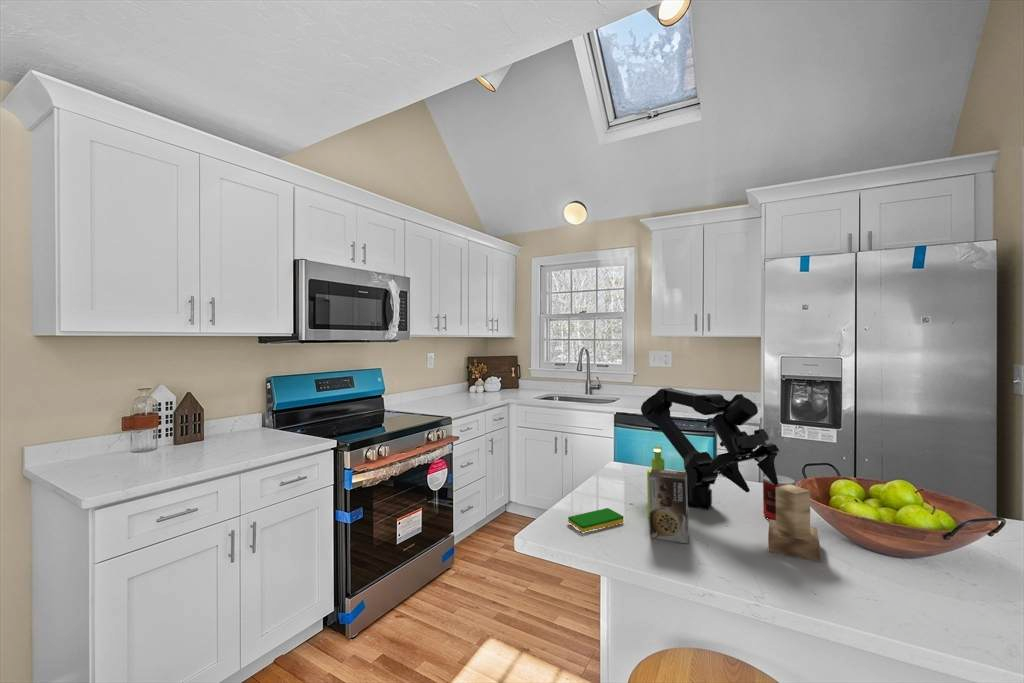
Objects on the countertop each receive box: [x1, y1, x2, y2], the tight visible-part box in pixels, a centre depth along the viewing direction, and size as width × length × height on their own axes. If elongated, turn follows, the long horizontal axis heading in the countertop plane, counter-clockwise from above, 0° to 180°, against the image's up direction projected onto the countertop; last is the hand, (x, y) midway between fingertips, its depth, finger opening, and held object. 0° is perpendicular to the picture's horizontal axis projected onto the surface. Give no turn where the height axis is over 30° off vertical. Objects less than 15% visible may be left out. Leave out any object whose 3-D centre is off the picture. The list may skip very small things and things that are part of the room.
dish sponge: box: [567, 507, 624, 532], centre depth 122 cm, size 7×14×2 cm, turn 116°
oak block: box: [776, 484, 811, 537], centre depth 107 cm, size 5×5×10 cm
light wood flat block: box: [767, 519, 821, 563], centre depth 107 cm, size 10×10×4 cm
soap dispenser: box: [646, 445, 666, 519], centre depth 125 cm, size 6×7×20 cm
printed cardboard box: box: [648, 468, 690, 544], centre depth 114 cm, size 9×6×16 cm
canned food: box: [762, 474, 796, 520], centre depth 124 cm, size 8×8×11 cm
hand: (762, 488), depth 114 cm, fingers open, 9 cm apart
